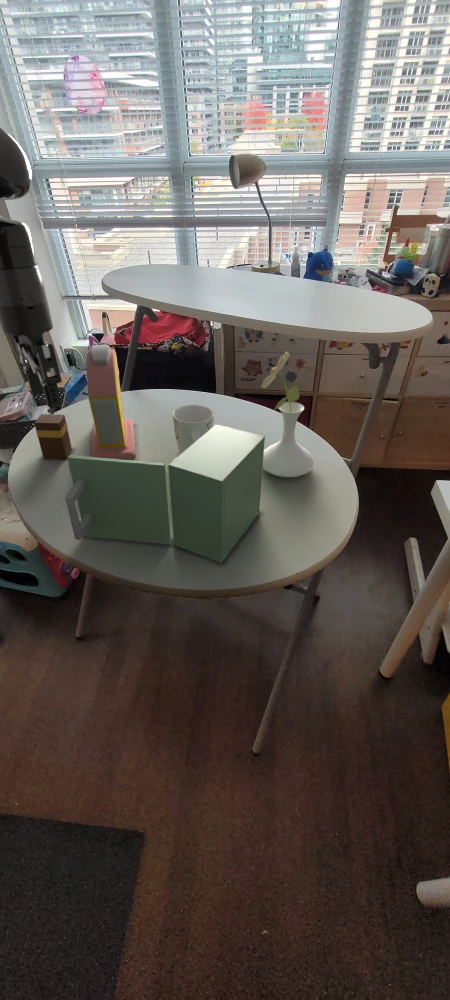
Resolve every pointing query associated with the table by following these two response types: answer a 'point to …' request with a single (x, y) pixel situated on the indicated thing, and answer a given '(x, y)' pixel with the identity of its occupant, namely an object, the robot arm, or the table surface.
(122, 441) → the yellow alarm clock
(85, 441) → the table surface
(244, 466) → the cupboard
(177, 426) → the mug
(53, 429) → the chocolate box
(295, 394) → the flower in vase
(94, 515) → the cupboard door
